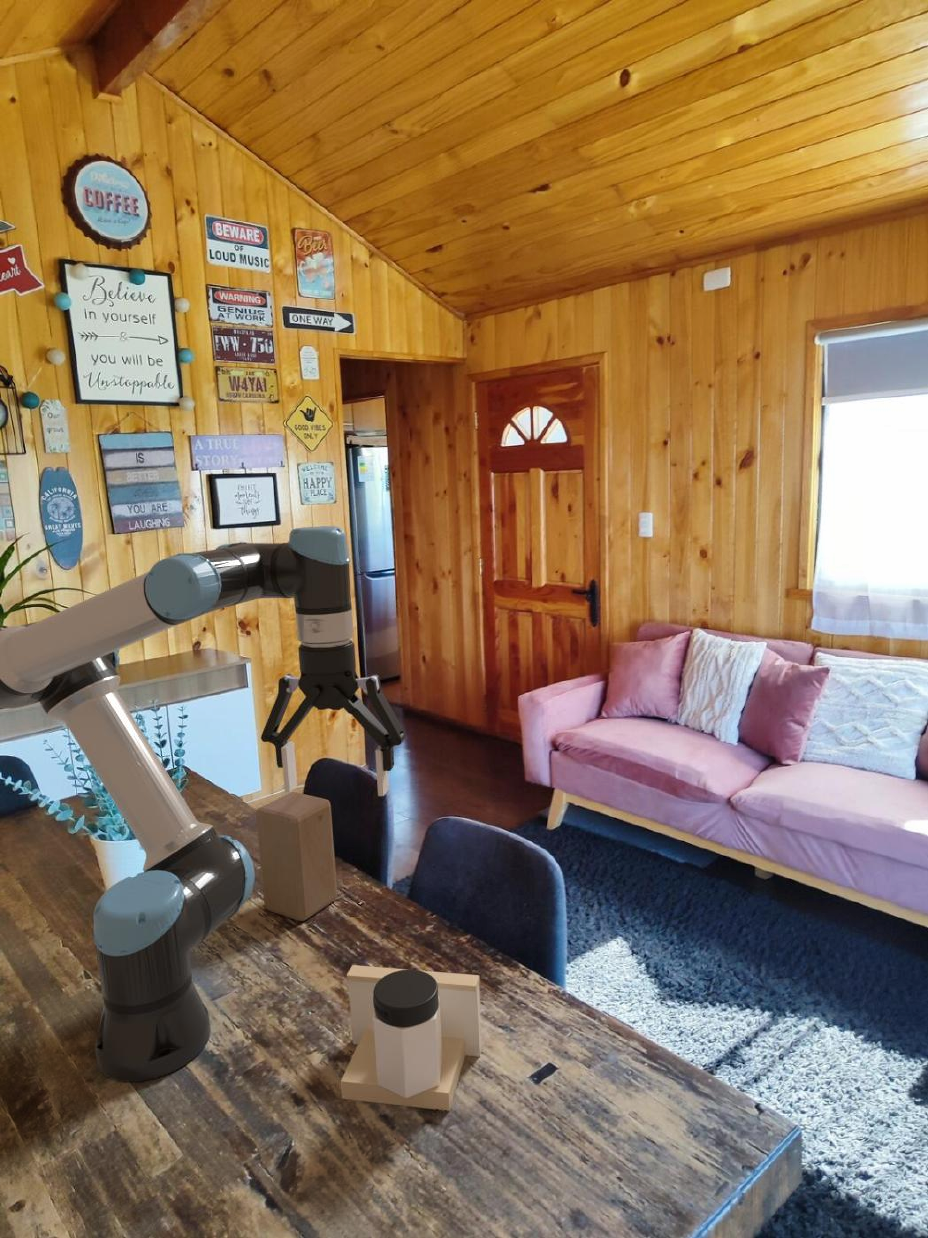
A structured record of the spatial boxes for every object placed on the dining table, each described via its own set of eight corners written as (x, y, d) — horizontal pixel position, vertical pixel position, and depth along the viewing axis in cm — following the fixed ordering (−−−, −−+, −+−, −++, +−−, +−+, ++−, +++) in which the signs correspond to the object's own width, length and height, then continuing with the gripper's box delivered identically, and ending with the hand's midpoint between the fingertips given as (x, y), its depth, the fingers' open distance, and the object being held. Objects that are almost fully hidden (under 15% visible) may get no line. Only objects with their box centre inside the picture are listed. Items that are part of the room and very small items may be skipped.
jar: (384, 1049, 109) (378, 966, 107) (445, 1049, 109) (440, 966, 107) (372, 1099, 101) (366, 1011, 99) (438, 1100, 100) (434, 1011, 98)
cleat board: (327, 1097, 105) (321, 1020, 103) (357, 1034, 116) (352, 965, 114) (465, 1113, 101) (461, 1034, 99) (482, 1047, 113) (479, 975, 111)
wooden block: (339, 899, 154) (332, 798, 151) (302, 925, 146) (293, 818, 142) (300, 887, 159) (292, 789, 156) (262, 911, 151) (253, 808, 148)
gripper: (227, 647, 110) (241, 797, 113) (408, 647, 105) (416, 804, 108) (252, 636, 117) (265, 778, 121) (422, 635, 112) (430, 783, 116)
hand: (336, 791), depth 115 cm, fingers open, 13 cm apart
